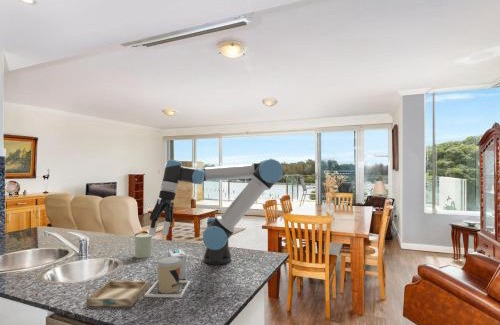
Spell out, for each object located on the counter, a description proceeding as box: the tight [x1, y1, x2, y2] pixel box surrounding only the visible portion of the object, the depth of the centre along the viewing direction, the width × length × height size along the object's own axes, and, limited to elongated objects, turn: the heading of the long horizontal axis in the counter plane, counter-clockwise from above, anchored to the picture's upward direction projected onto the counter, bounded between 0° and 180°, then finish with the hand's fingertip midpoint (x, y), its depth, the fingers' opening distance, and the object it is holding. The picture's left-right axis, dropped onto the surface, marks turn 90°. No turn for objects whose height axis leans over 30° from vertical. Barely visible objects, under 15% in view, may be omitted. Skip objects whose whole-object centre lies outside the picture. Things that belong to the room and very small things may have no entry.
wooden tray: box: [85, 280, 150, 308], centre depth 110 cm, size 16×17×3 cm
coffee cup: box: [156, 256, 181, 294], centre depth 117 cm, size 9×9×12 cm
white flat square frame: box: [143, 279, 191, 299], centre depth 117 cm, size 15×15×1 cm
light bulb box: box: [167, 248, 187, 280], centre depth 132 cm, size 11×7×11 cm, turn 23°
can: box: [134, 233, 153, 259], centre depth 162 cm, size 9×9×12 cm
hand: (158, 235), depth 135 cm, fingers open, 13 cm apart
